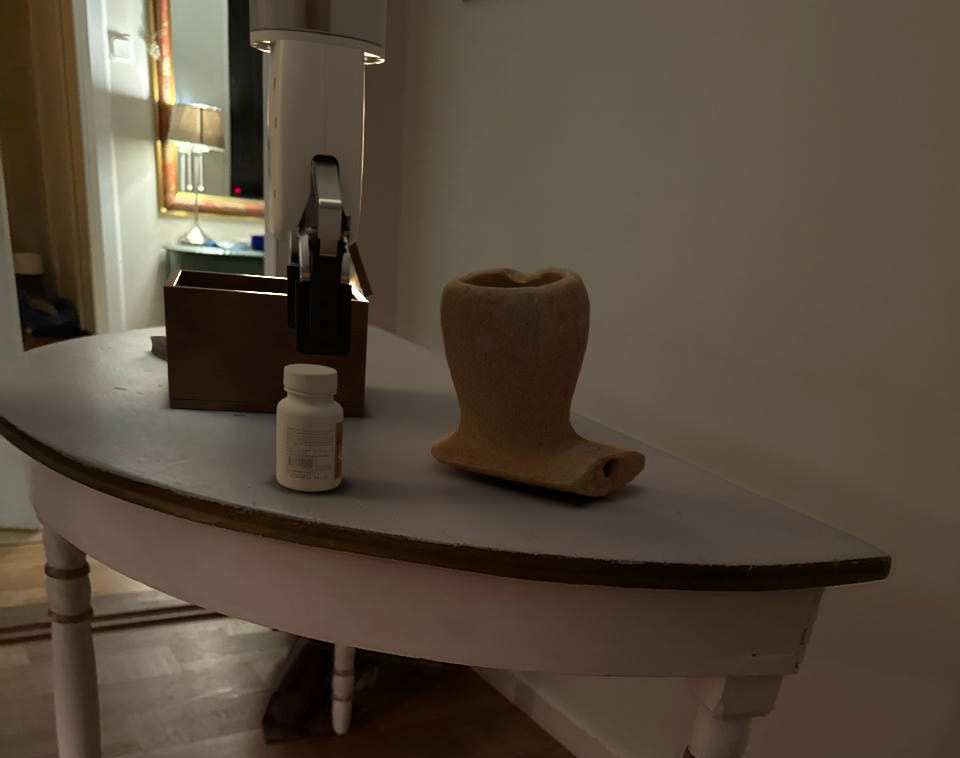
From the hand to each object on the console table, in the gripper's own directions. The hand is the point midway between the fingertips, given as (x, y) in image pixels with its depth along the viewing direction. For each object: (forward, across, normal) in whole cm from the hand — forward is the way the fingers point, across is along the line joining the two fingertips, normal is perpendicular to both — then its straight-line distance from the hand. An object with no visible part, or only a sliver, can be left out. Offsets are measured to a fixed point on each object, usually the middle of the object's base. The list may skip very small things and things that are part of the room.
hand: (316, 340), depth 58 cm
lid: (-9, -27, +2) cm, 29 cm away
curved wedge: (+9, -42, -8) cm, 44 cm away
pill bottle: (+10, 0, 0) cm, 10 cm away
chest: (+9, -27, -2) cm, 29 cm away
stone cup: (+10, -2, +16) cm, 19 cm away
